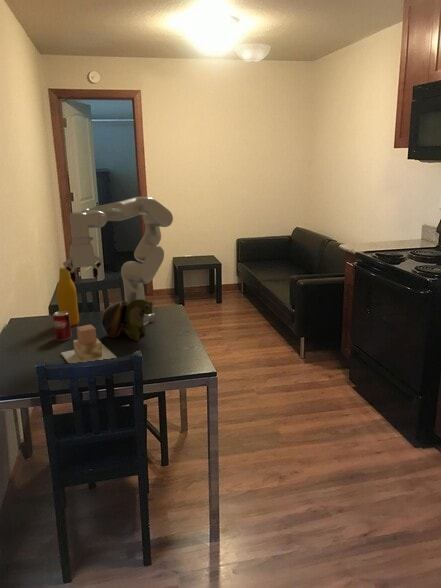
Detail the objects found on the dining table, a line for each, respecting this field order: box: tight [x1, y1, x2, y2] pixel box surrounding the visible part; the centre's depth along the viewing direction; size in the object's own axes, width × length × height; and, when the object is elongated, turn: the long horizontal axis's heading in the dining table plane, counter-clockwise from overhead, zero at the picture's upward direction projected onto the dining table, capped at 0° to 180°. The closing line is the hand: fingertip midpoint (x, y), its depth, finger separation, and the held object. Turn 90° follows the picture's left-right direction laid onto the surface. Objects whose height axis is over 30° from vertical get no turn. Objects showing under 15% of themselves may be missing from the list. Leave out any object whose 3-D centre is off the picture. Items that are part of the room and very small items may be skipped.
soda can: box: [52, 311, 73, 342], centre depth 219 cm, size 7×7×12 cm
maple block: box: [72, 337, 102, 361], centre depth 198 cm, size 9×9×6 cm
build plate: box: [60, 343, 118, 364], centre depth 199 cm, size 18×18×1 cm
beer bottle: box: [56, 266, 80, 327], centre depth 236 cm, size 9×9×29 cm
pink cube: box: [76, 324, 98, 345], centre depth 197 cm, size 6×6×6 cm
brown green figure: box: [101, 299, 154, 342], centre depth 219 cm, size 19×16×25 cm
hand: (84, 279), depth 211 cm, fingers open, 9 cm apart
